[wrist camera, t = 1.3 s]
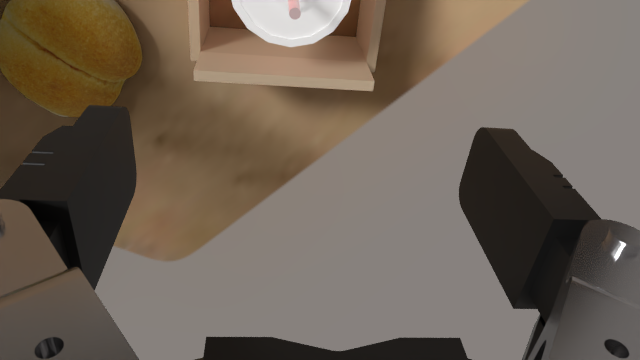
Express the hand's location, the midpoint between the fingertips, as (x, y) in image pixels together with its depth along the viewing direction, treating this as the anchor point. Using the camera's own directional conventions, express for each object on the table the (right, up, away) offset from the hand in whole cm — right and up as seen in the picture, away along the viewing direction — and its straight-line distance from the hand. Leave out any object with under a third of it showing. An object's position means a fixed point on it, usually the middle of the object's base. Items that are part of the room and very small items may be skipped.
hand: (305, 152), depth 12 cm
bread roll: (-16, +9, +22) cm, 29 cm away
